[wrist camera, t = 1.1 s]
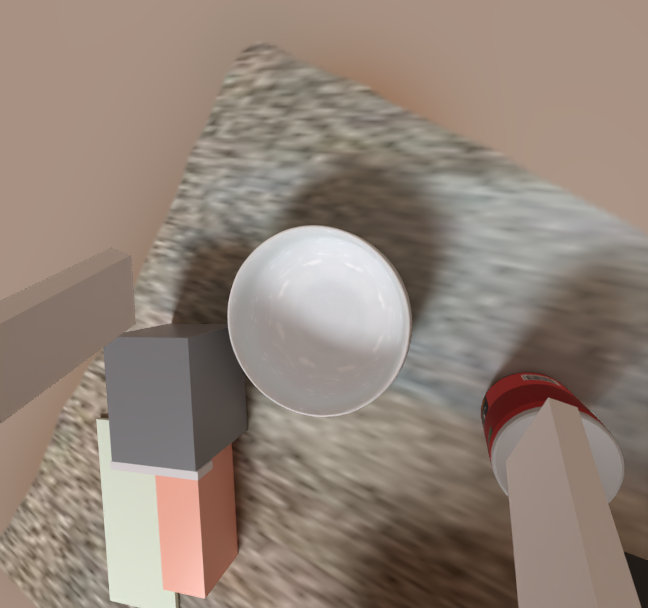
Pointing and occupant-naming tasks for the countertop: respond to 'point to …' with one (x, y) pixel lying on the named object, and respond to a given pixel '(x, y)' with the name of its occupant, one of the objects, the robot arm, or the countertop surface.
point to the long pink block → (197, 527)
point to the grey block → (173, 398)
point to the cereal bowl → (319, 320)
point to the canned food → (520, 410)
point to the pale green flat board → (131, 533)
